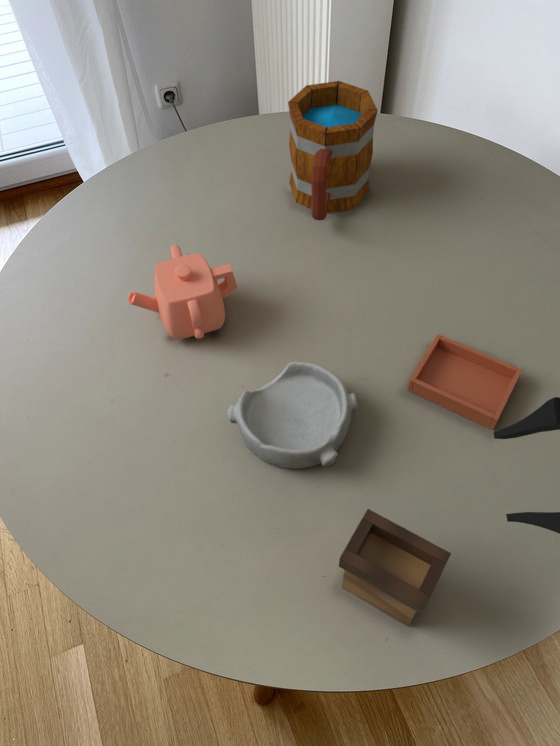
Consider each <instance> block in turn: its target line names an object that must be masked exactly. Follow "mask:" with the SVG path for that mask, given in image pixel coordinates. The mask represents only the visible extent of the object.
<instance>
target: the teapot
mask: <svg viewBox="0 0 560 746" xmlns="http://www.w3.org/2000/svg"><path fill="white" fill-rule="evenodd" d="M170 253H171V258H169V259H166V260H163V261H159V262H157V263H156V264H155V269H154V295H155V296H154V297H153V296H149V295H146V294H143V293H140V292H137V291H130V293H129V295H128V297H127V303H128V304H129V305H132V306H135V307H138V308H141V309H145V310H148V311H150V312H154V313H158V316H159V318H160V320H161V322H162V323H161V324H162V325H163V327H164V328H165V330H166V332H167V333H168V335H169V336H170V337H171V338H173V339H174V340H181V339H186V338H191V337H195V338H196V339H202V338H204V337H205V334H206V333H207V334H208V333H210V332H214V331H217V330H219V329H221V328H222V327H223V325H224V323H225V320H226V310H225V309H226V308H225V303H224V299H226V298H227V297H228V296H229V295H231V294H232V293H234V292H236V290H238V289H239V288H238V284H237V282H236V278H235V274H234V271H233V269H232V267H231V264H230V263H227V264H223V265H220V266H215V267H210V265H209V263H208V261H207V259H206V258H205V256H204V255H203V254H202V253H200V252H199V253H191V254H186V255H183V253H182V249H181V247H180V246H179V245H178V244H173V245H172V246H171V247H170ZM223 278H224V280H223V281H222V282H219V283H218V280H220V279H223Z"/></svg>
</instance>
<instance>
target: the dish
mask: <svg viewBox="0 0 560 746" xmlns="http://www.w3.org/2000/svg"><path fill="white" fill-rule="evenodd" d="M357 410H358V400H357V396H356V394H355V393H354V392H350V393H349V392H348V391H347V389H346V387H345V385H344V384H343V382H342V381H341V379H339V378H338V376H336V374H334V373H333V372H331V371H330V370H328V369H327V368H325V367H323V366H321V365H318V364H315V363H311V362H305V361H303V362H302V361H290V362H289V363H288V364H287V365H285V367H284V368H283V370H282V371H281V372H280V373H279V374H278V375H276V376H275V378H273V379H272V380H270V381H268V383H266V384H264V385H262V386H260V387H259V388H256V389H252V390H244V391H242V393H241V395H240V396H239V398H238V401H237V402H236V403H231V404H230V405H229V407H228V408H227V418H228V420H229V423H231V424H236V425H237V427H238V430H239V433H240V435H241V437H242V439H243V442H244V443H245V445H246V446H247V448H248V449H249V450H250V451H251V452H252V454H254V455H255V456H256V457H257V458H258V459H260V460H262V461H263V462H265V463H267V464H270V465H272V466H275V467H279V468H282V469H283V468H285V469H305V468H311V467H314V466H318V465H319V464H321V465H322V466H323V467H327V466H330V465H333V464H334V463H335V462H336V459H337V457H338V455H339V453H338V451H337V450H338V449H339V448H340V446H342V444H343V442H344V440H345V439H346V436H347V434H348V431H349V429H350V425H351V419H352V413H353V412H356V411H357Z"/></svg>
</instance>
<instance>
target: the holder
mask: <svg viewBox="0 0 560 746" xmlns="http://www.w3.org/2000/svg"><path fill="white" fill-rule="evenodd" d="M522 372H523V369H522V368H519V367H517V366H515V365H512V364H511V363H508V362H505V361H503V360H500V359H498V358H497V357H493V356H491V355H489V354H487V353H485V352H482V351H479V350H477V349H474V348H472V347H470V346H467V345H465V344H463V343H460V342H458V341H455V340H453V339H451V338H449V337H446V336H444V335H441V334H440V333H437V334H436V336H435V338H434V339H433V340H432V342H431V343H430V346H429V347H428V349H427V351H426V352H425V354H424V355H423V357H422V359H421V361H420V363H419V364H418V366H417V367H416V369H415V370H414V372H413V374H412V376H410V379H409V382H408V386H407V392H410V393H412V394H414V395H416V396H419V397H420V398H423V399H425V400H427V401H429V402H432V403H434V404H435V405H438V406H439V407H442V408H445V409H446V410H448V411H451V412H453V413H455V414H457V415H460V416H462V417H464V418H466V419H467V420H468V419H469V420H470V421H472V422H475V423H477V424H479V425H480V426H482V427H485V428H487V429H490V430H492V431H494V429H495V427H496V425H497V423H498V421H499V419H500V418H501V414H502V413H503V411H504V409H505V407H506V405H507V403H508V401H509V399H510V396H511V395H512V392H513V390H514V389H515V386H516V384H517V382H518V380H519V378H520V376H521V374H522Z"/></svg>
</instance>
